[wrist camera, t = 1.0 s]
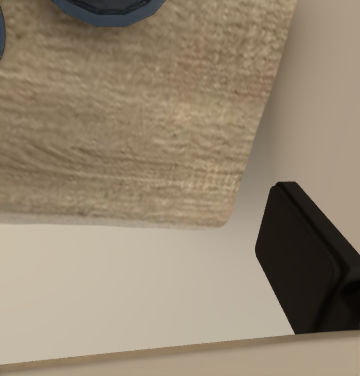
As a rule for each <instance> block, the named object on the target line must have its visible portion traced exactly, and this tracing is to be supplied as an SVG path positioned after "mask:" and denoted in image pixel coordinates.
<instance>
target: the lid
mask: <svg viewBox="0 0 360 376" xmlns="http://www.w3.org/2000/svg"><path fill="white" fill-rule="evenodd" d="M4 47H5V24H4V18H3V14H2V10H1V7H0V60H1V57H2V55H3V51H4Z"/></svg>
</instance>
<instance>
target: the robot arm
mask: <svg viewBox="0 0 360 376" xmlns="http://www.w3.org/2000/svg"><path fill="white" fill-rule="evenodd" d="M255 253H256V257H257V259H258V261H259V263H260V265H261V267H262V268H263V271H264V272H265V274H266V277H267V279H268V281H269V283H270V285H271V287H272V289H273V291H274V293H275V295H276V297H277V299H278V301H279V303H280V305H281V307H282V309H283V311H284V313H285V315H286V317H287V319H288V321H289V323H290V325H291V327H292V329H293V331H294V333H295V335H286V336H275V337H265V338H255V339H244V340H234V341H224V342H215V343H204V344H194V345H184V346H175V347H164V348H155V349H145V350H136V351H125V352H117V353H107V354H96V355H87V356H78V357H69V358H59V359H50V360H41V361H31V362H22V363H13V364H4V365H0V376H360V255H359V254H358V252H357V251H356V250H355V249H354V248H353V247H352V245H351V244H350V243H349V242H348V241H347V240H346V239H345V237H344V236H343V235H342V234H341V233H340V232H339V231H338V229H337V228H336V227H335V226H334V225H333V224H332V223H331V221H330V220H329V219H328V218H327V217H326V216H325V215H324V213H323V212H322V211H321V210H320V209H319V208H318V207H317V205H316V204H315V203H314V202H313V201H312V200H311V199H310V198H309V196H308V195H307V194H306V193H305V192H304V191H303V189H302V188H301V187H300V186H299V185H298V184H297V183H296V182H277V183H276V185H275V186H272V188H271V189H270V192H269V196H268V200H267V204H266V207H265V211H264V215H263V219H262V223H261V226H260V230H259V234H258V238H257V242H256V246H255Z"/></svg>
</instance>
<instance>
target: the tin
mask: <svg viewBox="0 0 360 376" xmlns="http://www.w3.org/2000/svg"><path fill="white" fill-rule="evenodd" d="M51 1H52V2H54V3H55V4H56V5H57V6H58V7H59V8H60V9H61V10H62V11H63V12H64V13H66V14H68V15H70V16H72V17H75V18H77V19H79V20H82V21H84V22H86V23H89V24H91V25H93V26H97V27H126V26H129V25H131V24H133V23H136V22H138V21H140V20H142V19H144V18H146V17H149V16H151V15H153V14H154V13H155V12H156V11H157V10H158V9H159V8H160V6H161V5H162V4H163V3H164V2H165V1H166V0H51Z"/></svg>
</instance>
